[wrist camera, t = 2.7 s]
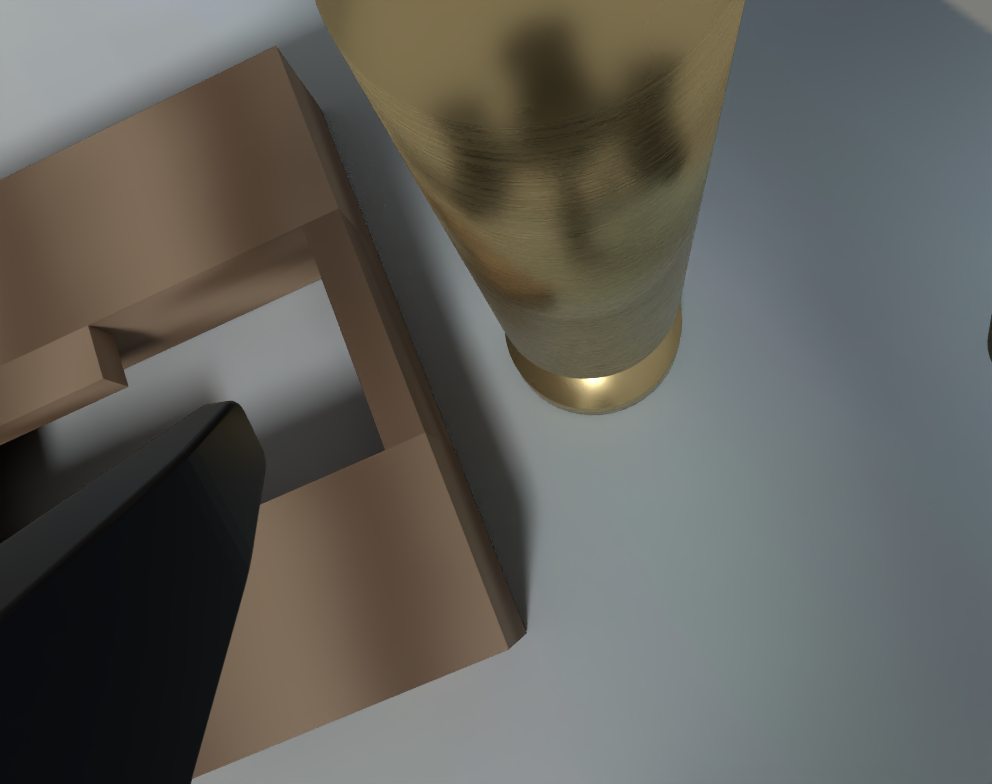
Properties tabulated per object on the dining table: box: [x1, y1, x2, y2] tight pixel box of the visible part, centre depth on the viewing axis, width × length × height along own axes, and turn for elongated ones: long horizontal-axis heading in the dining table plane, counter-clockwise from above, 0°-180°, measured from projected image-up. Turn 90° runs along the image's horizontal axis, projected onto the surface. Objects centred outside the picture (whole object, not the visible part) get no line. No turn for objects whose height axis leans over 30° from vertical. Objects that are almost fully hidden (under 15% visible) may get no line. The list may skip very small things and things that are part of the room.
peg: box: [315, 0, 745, 415], centre depth 14 cm, size 4×4×14 cm
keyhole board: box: [0, 46, 527, 779], centre depth 20 cm, size 16×16×3 cm
